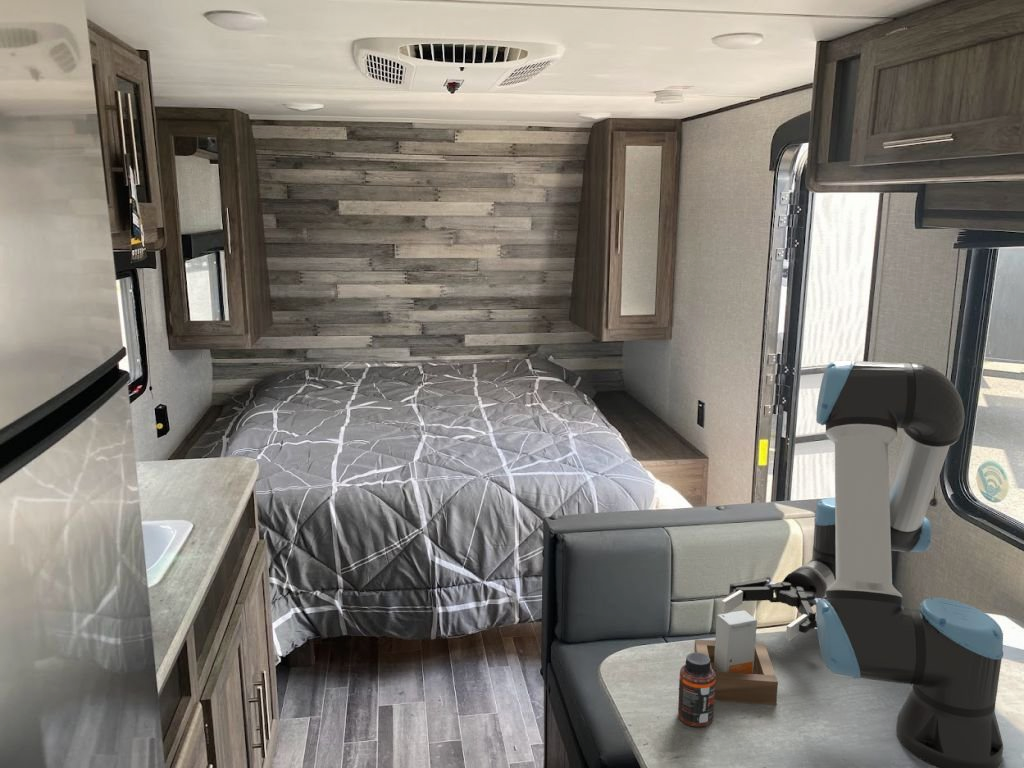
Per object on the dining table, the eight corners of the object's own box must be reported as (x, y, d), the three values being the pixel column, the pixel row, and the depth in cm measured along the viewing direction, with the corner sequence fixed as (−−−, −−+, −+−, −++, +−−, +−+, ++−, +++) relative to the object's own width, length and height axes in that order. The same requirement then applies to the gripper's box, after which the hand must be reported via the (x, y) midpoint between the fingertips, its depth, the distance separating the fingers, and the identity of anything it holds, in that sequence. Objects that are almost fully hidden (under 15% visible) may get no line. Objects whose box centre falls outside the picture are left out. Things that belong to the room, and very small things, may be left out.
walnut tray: (776, 704, 138) (777, 681, 138) (701, 699, 140) (702, 676, 139) (762, 664, 151) (764, 643, 150) (694, 660, 153) (694, 639, 152)
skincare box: (725, 685, 143) (728, 625, 140) (712, 673, 147) (715, 614, 144) (754, 679, 144) (757, 619, 142) (741, 667, 148) (744, 609, 146)
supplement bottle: (714, 731, 131) (717, 669, 129) (677, 726, 133) (680, 665, 130) (712, 709, 137) (715, 650, 135) (677, 705, 138) (680, 647, 136)
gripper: (867, 623, 154) (816, 664, 140) (752, 582, 172) (697, 615, 158) (870, 587, 153) (819, 625, 139) (754, 550, 171) (699, 580, 157)
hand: (754, 620), depth 148 cm, fingers open, 13 cm apart
